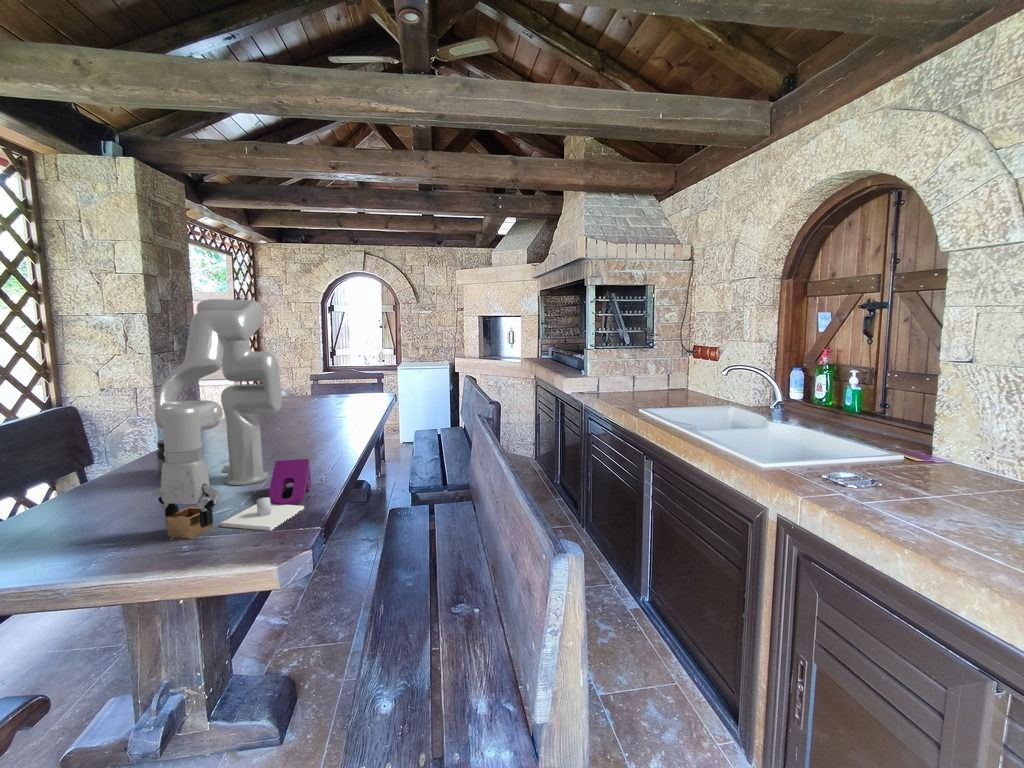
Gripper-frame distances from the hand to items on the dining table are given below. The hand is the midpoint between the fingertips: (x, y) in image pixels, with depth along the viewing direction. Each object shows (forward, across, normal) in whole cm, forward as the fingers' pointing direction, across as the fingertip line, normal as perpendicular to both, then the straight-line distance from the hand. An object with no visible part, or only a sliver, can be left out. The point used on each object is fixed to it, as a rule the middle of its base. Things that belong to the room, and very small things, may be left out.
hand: (189, 524), depth 118 cm
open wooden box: (+2, 0, 0) cm, 2 cm away
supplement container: (+2, -43, +39) cm, 58 cm away
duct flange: (+2, +12, +11) cm, 17 cm away
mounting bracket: (+2, +9, +26) cm, 28 cm away
